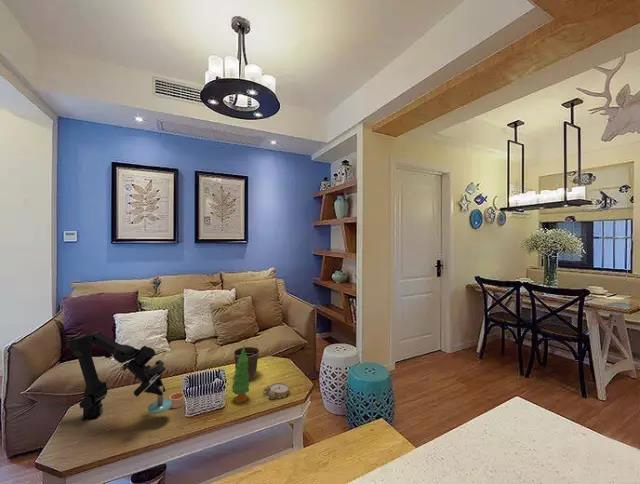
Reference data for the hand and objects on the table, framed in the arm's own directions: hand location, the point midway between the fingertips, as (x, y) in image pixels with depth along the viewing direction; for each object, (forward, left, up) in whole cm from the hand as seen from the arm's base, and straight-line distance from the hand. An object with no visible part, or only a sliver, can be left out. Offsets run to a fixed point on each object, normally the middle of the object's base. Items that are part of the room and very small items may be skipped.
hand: (163, 392), depth 136 cm
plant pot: (+38, +36, -14) cm, 54 cm away
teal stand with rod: (-1, 0, -7) cm, 7 cm away
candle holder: (+55, +12, -14) cm, 58 cm away
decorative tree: (+35, +11, -14) cm, 39 cm away
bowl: (+3, +13, -14) cm, 19 cm away
